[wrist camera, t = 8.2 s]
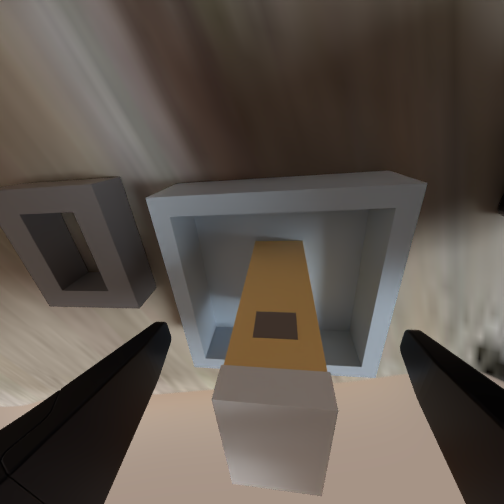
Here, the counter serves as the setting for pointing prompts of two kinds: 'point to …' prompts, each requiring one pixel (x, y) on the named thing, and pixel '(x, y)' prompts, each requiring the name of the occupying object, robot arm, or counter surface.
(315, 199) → the parts tray
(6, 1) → the counter surface
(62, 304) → the block
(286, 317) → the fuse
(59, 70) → the counter surface
